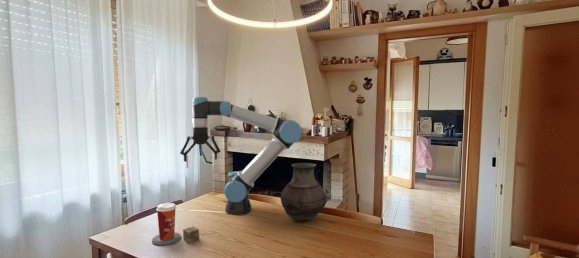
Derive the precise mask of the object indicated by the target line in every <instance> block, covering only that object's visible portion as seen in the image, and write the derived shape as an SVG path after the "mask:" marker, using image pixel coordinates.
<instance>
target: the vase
mask: <svg viewBox="0 0 579 258" xmlns="http://www.w3.org/2000/svg"><path fill="white" fill-rule="evenodd" d="M291 167H292V169H293V172H292V178H291V181H289V182H288V183H287V184H286V185H285V186H284V188H283V190H282V191H281V194H280V202H281V206H282V207H283V209H284V211H285V213H286V215H287V216H288V217H289V218H291V219H293V220H296V221H299V222H300V221H301V222H304V221H305V222H307V221H310V220H312V219H314V218H315V217H316V216H317V215H318V214H320V213H321V212H322V210H323V209H324V208H325V207H326V203H327V195H326V193H325V191H324V189H323V187H322V185H321V184H320V183H319V182H317V179H316V178H315V168H316V167H317V163H311V162H295V163H291Z"/></svg>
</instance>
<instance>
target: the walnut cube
mask: <svg viewBox="0 0 579 258" xmlns="http://www.w3.org/2000/svg"><path fill="white" fill-rule="evenodd" d="M182 231H183V233H182V235H183V237H182V240H183V241H184V242H186V243H187V244H191V243H194V242H195V243H196V242H197V241H200V229H199V228H197V227H195V226H189V227H186V228H183V230H182Z"/></svg>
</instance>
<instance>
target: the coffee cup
mask: <svg viewBox="0 0 579 258" xmlns="http://www.w3.org/2000/svg"><path fill="white" fill-rule="evenodd" d="M176 209H177V206H176V204H175V203H172V202H164V203H161V204H158V205H157V208H156V209H155V210H156V211H157V213H156V214H157V223H158V225H157V226H158V235H159V236H160V240H162V241H167V240H171V239H173V238H174V232H175V231H176V230H175V228H176Z"/></svg>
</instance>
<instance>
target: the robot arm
mask: <svg viewBox="0 0 579 258" xmlns="http://www.w3.org/2000/svg"><path fill="white" fill-rule="evenodd" d="M191 106H192V126H193V127H192V136H189V135H187V136H186V139H185V142H184V144H183V146H182V147H181V150H180V152H179V154H180V155H181V156H183V162H185V168H186V169H189V155H188V154H189V153H190V152H191V150H192V149H193V148H194V147H195V146H196V145H206V146H207V147H208V148H209V149H210V150H211V151H212V152H213V153H212V166H213V167H216V160H217V159H218V154H219V153H221V150H220V147H219V146H218V144H217V142H216V140H215V136H214V135H212V134H211V135H209V133H208V132H209V129H208V125H209V123H208V122H209V120H208V116H222V117H227V118H230V119H233V120H236V121H239V122H242V123H244V124H245V123H246V124H249V125H252V126H255V127H257V128H258V127H259V128H261V129H264V130H267V131H269V132H271V134H272V139H270V141H269V142H268V143H267V144H266V145H265V146H264V147H263V148H262V149H261V150H260V151H259V153H258V154H256V156H255V157H254V158H253V159H251V161H250V162H249V163H248V164H247V165H246V166H245V167H244V169H243V170H239V171H229V172H228V173H227V179H228V181H227V182H226V184H225V186H224V188H223V190H224V191H223V192H224V196H225V199H227V202H226V204H225V208H224V209H225V210H224V211H225V213H226V214H228V215H231V216H232V215H233V216H235V215H236V216H238V215H240V216H241V215H246V214H249V213H250V212H252V204H251V201H250V198H249V192H250V191H251V190H252V189H253V188H254V186H255V181H256V180H257V179H258V178H259V177H260V176H261V175H262V174H263V173H264V172H265V170H267V168H269V167H270V165H272V163H273V162H274V161H275V160H276V158H278V156H279V155H280V154H282V153H283V151H284V150H289V149H290V148H291V146H293V145H294V143H295V144H296V143H297V142H298V141H299V140H300V139H301V136H302V132H303V131H302V127H301V125H300V124H299V123H298V122H297V121H296V120H292V119H285V118H279V117H276V118H274V117H271V116H270V115H269V116H268V115H265V114H263V113H259V112H256V111H253V110H250V109H247V108H244V107H241V106H239V105H238V106H237V105H234V104H231V102H230V101H227V100H218V101H217V100H214V101H213V100H208V97H205V96H194V97H193V98H192V105H191ZM191 140H192V143H191V144H190V145H189V147H188V144H189V142H190V141H191ZM208 140H211V142H212V144H213V146H214V147H213V146H212V145H211V144H210V142H208ZM187 147H188V148H187ZM186 148H187V149H186ZM215 149H216V150H215Z"/></svg>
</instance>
